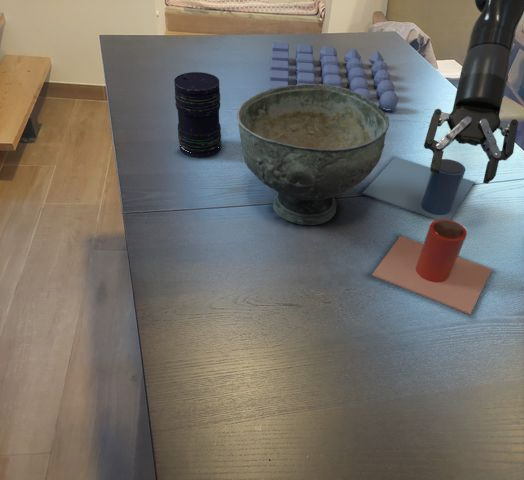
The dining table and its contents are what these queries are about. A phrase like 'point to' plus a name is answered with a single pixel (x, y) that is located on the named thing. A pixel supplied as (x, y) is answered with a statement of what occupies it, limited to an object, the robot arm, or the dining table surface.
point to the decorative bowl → (310, 145)
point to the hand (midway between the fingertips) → (460, 178)
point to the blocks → (333, 71)
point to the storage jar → (198, 114)
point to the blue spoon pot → (443, 188)
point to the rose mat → (447, 292)
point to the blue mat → (410, 187)
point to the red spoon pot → (440, 250)
